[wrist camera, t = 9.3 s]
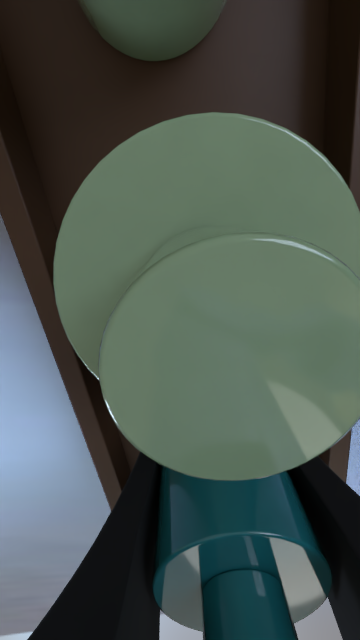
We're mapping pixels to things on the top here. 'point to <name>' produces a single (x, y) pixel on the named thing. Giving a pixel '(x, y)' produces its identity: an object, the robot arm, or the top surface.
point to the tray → (145, 111)
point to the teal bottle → (237, 557)
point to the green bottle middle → (217, 295)
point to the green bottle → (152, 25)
